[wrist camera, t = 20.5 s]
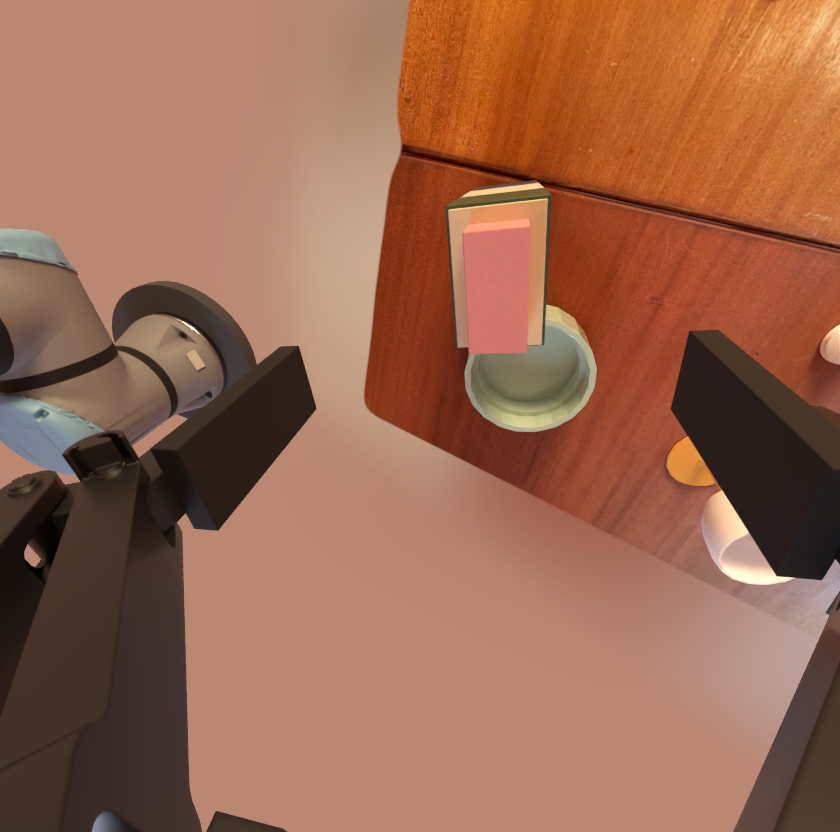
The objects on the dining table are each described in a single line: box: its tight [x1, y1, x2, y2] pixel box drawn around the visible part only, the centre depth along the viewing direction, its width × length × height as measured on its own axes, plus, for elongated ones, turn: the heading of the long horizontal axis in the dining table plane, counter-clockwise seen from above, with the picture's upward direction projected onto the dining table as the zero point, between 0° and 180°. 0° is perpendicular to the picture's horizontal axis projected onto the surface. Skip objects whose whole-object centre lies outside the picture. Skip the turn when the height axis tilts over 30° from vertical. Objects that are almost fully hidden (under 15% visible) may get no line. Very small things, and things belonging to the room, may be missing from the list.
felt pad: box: [448, 199, 548, 347], centre depth 25 cm, size 6×9×1 cm, turn 7°
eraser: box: [462, 219, 530, 354], centre depth 24 cm, size 7×4×3 cm, turn 6°
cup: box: [666, 436, 794, 585], centre depth 46 cm, size 9×9×16 cm
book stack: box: [446, 180, 551, 348], centre depth 35 cm, size 6×9×22 cm, turn 7°
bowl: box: [464, 305, 597, 432], centre depth 48 cm, size 14×14×6 cm
